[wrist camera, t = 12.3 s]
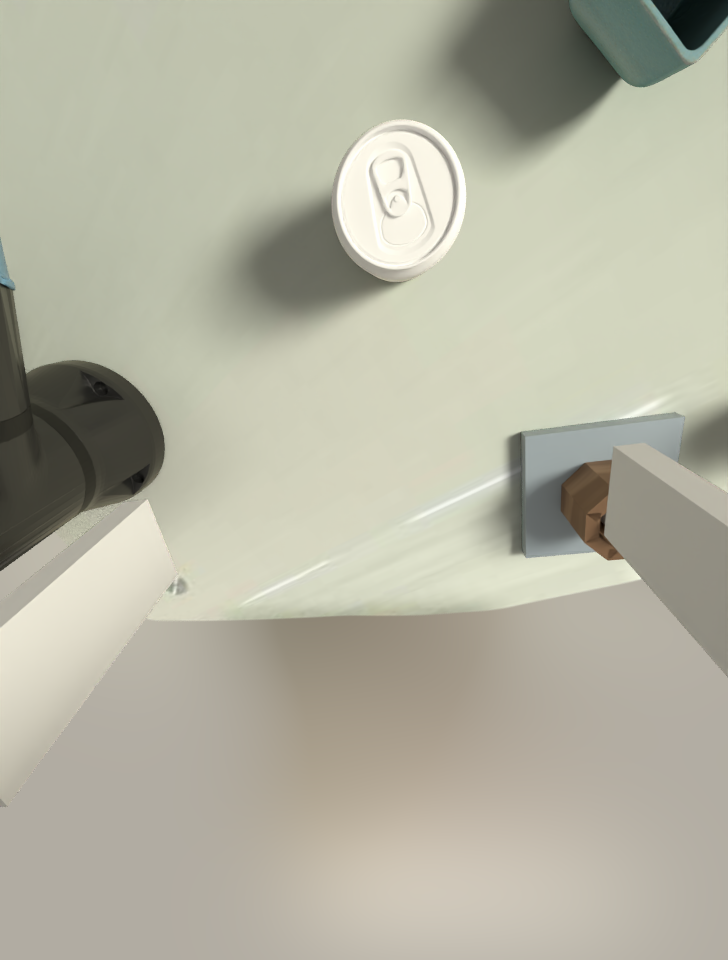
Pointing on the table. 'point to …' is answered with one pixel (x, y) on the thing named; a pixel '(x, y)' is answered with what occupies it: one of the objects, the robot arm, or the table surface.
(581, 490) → the collar
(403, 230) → the beverage can
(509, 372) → the table surface
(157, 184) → the table surface
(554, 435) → the post block
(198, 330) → the table surface
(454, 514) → the table surface
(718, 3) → the flower pot
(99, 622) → the robot arm
